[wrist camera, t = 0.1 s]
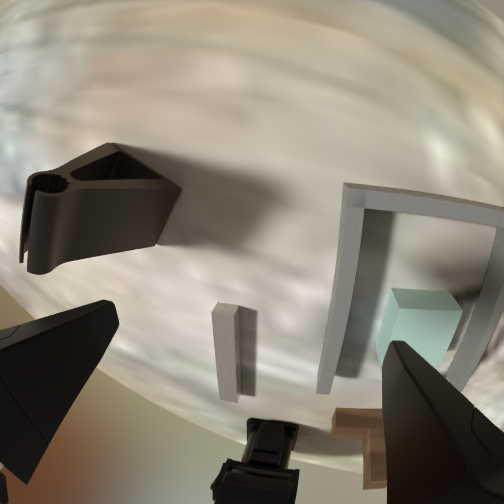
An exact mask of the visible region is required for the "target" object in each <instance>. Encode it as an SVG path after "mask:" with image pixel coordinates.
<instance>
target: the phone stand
mask: <svg viewBox="0 0 504 504" xmlns="http://www.w3.org/2000/svg"><path fill="white" fill-rule="evenodd" d="M180 191H181V188H180V187H179V186H178V185H176V184H174V183H173V182H171V181H170V180H168V179H167V178H165V177H164V176H162V175H161V174H159V173H157V172H156V171H154V170H153V169H151V168H150V167H148V166H147V165H144V164H142V162H140V161H139V160H137V159H136V158H134V157H132V156H131V155H129V154H128V153H126V152H125V151H123V150H121V149H120V148H118V147H117V146H115V145H114V144H112V143H105V144H103V145H101V146H99V147H97V148H95V149H93V150H91V151H89V152H87V153H85V154H83V155H81V156H79V157H77V158H75V159H73V160H71V161H70V162H68V163H66V164H64V165H62V166H60V167H59V168H56V169H53V170H49V171H43V172H37V173H34V174H32V175H30V176H29V178H28V180H27V185H26V191H25V198H24V205H23V213H22V222H21V234H20V250H19V262H20V263H23V260H24V253H25V252H26V251H27V250H28V259H27V272H29V273H32V274H36V275H42V274H47V273H49V272H51V271H52V270H53V269H54V268H56V267H57V266H59V265H61V264H63V263H65V262H69V261H74V260H80V259H85V258H90V257H96V256H101V255H107V254H112V253H118V252H124V251H129V250H135V249H141V248H147V247H152V246H155V244H156V242H157V240H158V238H159V235H160V233H161V231H162V229H163V227H164V224H165V222H166V220H167V218H168V216H169V214H170V212H171V210H172V208H173V205H174V203H175V201H176V199H177V197H178V195H179V193H180Z"/></svg>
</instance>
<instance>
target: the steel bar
mask: <svg viewBox="0 0 504 504" xmlns="http://www.w3.org/2000/svg"><path fill="white" fill-rule="evenodd" d="M212 324H213V336H214V347H215V357H216V368H217V377H218V387H219V396H220V400H225V401H230V402H235V403H237V402H238V400H239V397H240V394H241V371H240V330H239V305H233V304H226V303H219V302H218V303H217V304H216V306H215V307H214V309H213V311H212Z"/></svg>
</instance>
